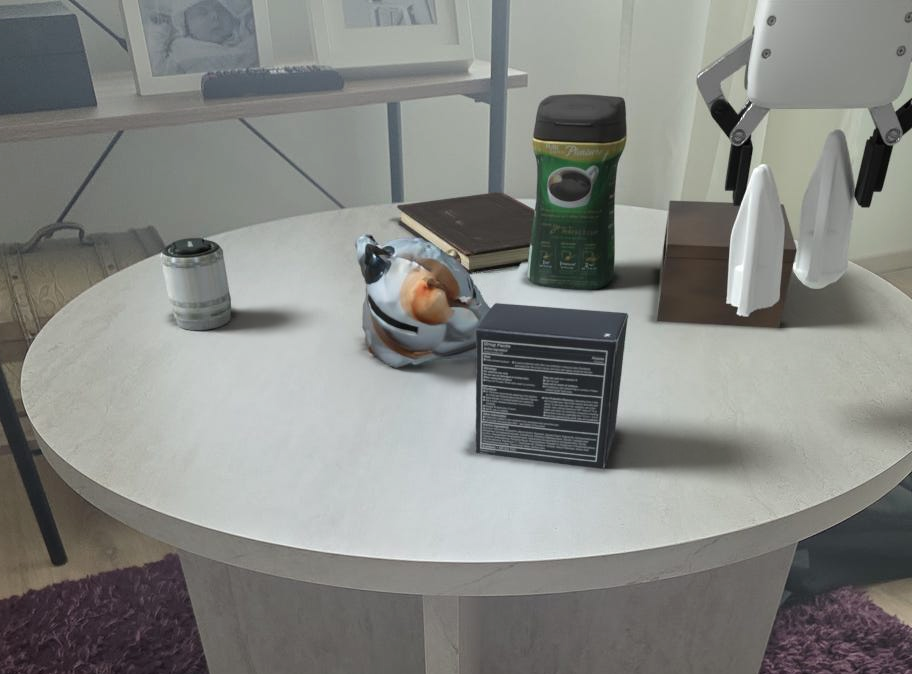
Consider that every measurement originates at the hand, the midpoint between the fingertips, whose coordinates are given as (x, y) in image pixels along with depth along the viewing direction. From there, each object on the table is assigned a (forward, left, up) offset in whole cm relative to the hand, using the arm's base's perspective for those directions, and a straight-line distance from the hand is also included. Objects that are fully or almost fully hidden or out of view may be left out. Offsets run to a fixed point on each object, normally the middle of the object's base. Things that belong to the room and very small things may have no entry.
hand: (798, 200), depth 67 cm
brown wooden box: (+3, -27, -17) cm, 32 cm away
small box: (+17, +9, -17) cm, 25 cm away
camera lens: (+56, -13, -17) cm, 59 cm away
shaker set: (0, 0, -7) cm, 7 cm away
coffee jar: (+19, -31, -17) cm, 40 cm away
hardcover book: (+31, -46, -17) cm, 58 cm away
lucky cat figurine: (+30, -8, -17) cm, 35 cm away
